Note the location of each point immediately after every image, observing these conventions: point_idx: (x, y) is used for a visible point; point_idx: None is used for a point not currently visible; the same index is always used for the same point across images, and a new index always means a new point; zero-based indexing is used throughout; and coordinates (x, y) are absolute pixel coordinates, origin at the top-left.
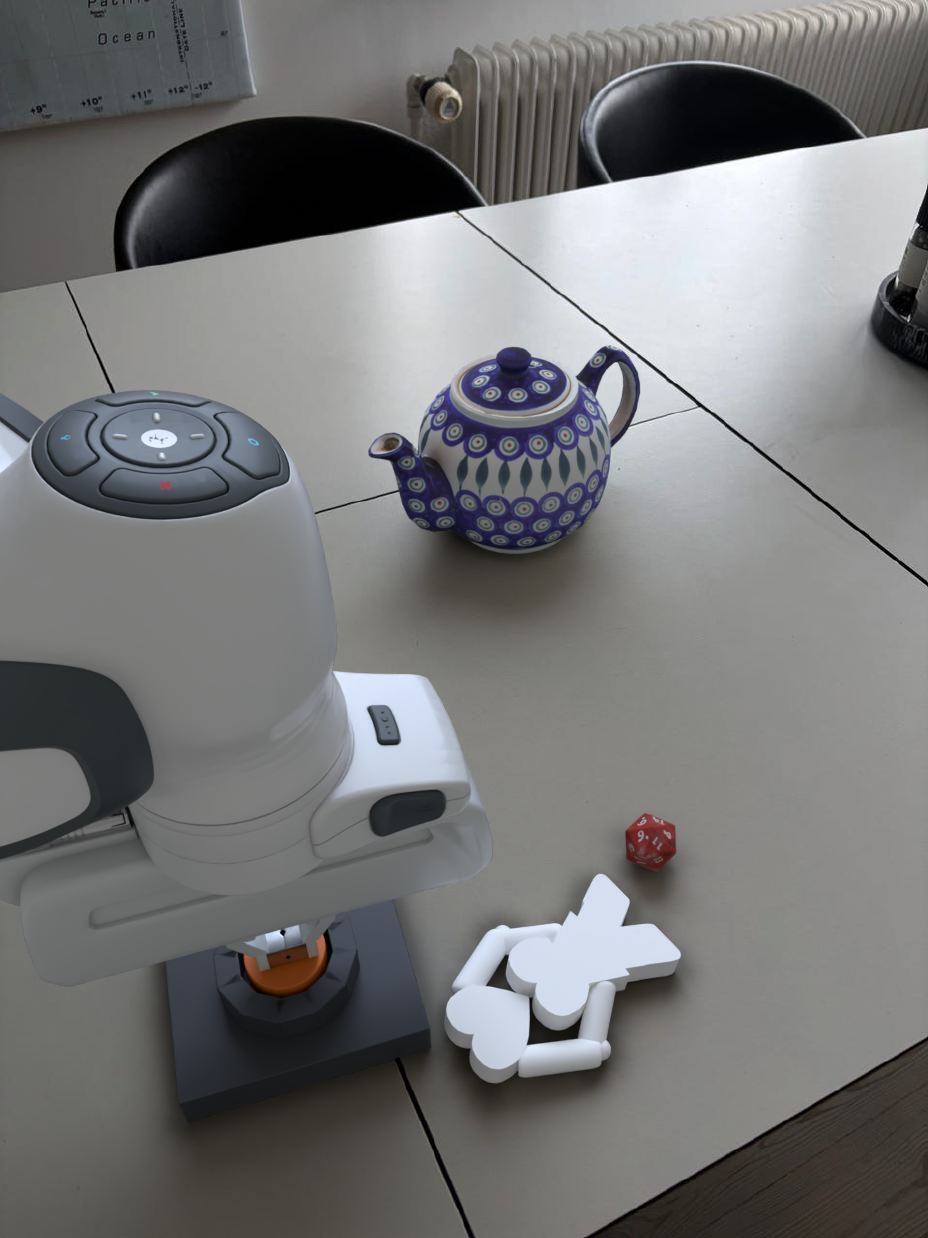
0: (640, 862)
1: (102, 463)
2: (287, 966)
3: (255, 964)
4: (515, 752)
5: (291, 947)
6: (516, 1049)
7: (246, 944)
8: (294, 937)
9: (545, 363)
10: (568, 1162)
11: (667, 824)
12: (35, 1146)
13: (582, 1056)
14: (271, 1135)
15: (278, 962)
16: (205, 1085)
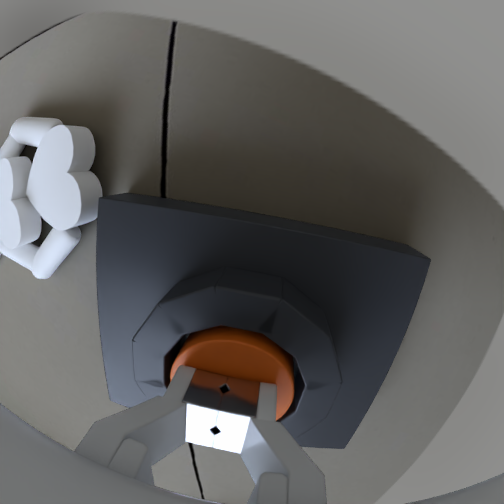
0: None
1: None
2: (233, 372)
3: (278, 394)
4: (31, 389)
5: (208, 407)
6: (45, 142)
7: (284, 466)
8: (198, 417)
9: None
10: (79, 53)
11: None
12: (500, 289)
13: (19, 123)
14: (333, 183)
15: (243, 388)
16: (398, 266)
